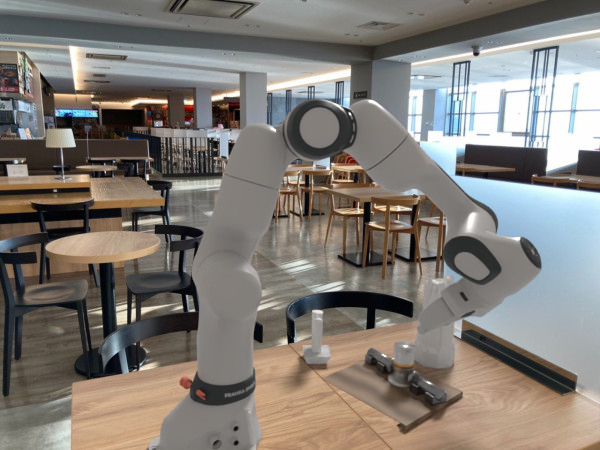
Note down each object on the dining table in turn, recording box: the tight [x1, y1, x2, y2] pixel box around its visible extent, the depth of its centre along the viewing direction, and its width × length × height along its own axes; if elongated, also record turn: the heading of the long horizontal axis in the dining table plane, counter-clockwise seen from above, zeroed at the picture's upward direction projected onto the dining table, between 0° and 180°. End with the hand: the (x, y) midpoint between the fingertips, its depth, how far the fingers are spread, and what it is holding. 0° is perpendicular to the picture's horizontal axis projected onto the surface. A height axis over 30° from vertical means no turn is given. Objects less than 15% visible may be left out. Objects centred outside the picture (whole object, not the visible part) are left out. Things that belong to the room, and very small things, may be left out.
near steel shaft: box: [407, 370, 447, 406], centre depth 113 cm, size 9×4×4 cm, turn 31°
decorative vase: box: [413, 275, 456, 370], centre depth 132 cm, size 11×11×25 cm
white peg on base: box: [302, 309, 332, 365], centre depth 130 cm, size 7×9×15 cm
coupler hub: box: [392, 340, 415, 384], centre depth 120 cm, size 5×5×9 cm
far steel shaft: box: [364, 347, 394, 374], centre depth 127 cm, size 9×4×4 cm, turn 31°
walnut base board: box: [321, 359, 464, 431], centre depth 118 cm, size 22×26×2 cm
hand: (432, 326), depth 111 cm, fingers open, 8 cm apart
